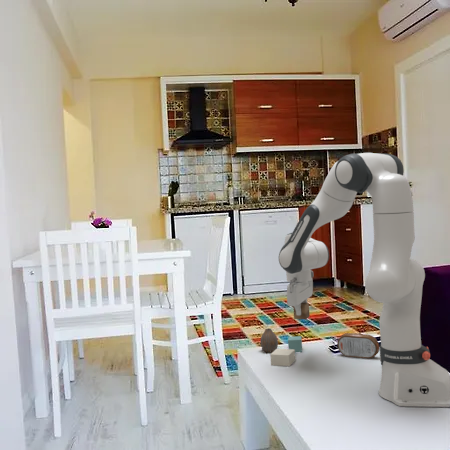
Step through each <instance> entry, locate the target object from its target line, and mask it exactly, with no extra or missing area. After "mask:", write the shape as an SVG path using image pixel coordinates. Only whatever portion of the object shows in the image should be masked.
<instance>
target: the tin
mask: <svg viewBox="0 0 450 450" xmlns="http://www.w3.org/2000/svg"><path fill="white" fill-rule="evenodd" d="M336 344H337V349H338V350H339V352H340V354H341V355H343V356H345V357H348V358H356V359H373V358H374V357H376V356H377V355H378V354H379V353H380V343H379V341H378V340H377V338H375V337H374V336H373V335H370V334H362V333H354V332H353V333H350V332H346V333H342V335H341V336H340V337H339V338H338V340H337V343H336Z"/></svg>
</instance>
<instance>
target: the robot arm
mask: <svg viewBox="0 0 450 450" xmlns="http://www.w3.org/2000/svg"><path fill="white" fill-rule="evenodd" d="M404 171H405V169H404V164H403V162H402V160H401V159H400V158H399V157H398V156H396V155H394V154H390V153H373V152H363V153H362V152H360V153H359V152H358V153H350V154H346V155H344V156H342V157H341V158H339V159H338V160H337V161H336V162H335V163H334V164H333V165H332V166H331V168H330V170H329V172H328V174H327V176H326V177H325V179H324V181H323V184H322V186H321V189H320V190H319V192H318V194H317V196H316V197H315V199H314V200H313V201H312V202H311V203H310V204H309V206H307V208H305V210H304V211H303V213H302V215H300V218H299V220H298V221H297V223H296V225H295V227H294V229H293V231H292V232H290V233H287V234H286V235H285V237H284V244H283V246H282V247H281V248H280V251H279V253H278V262H279V263H278V264H279V265H280V267H281V268H282V269H283V270H284V271H285V272H286V281H287V282H288V284H287V287H286V304H287V305H288V306H289V307H293V306H294V307H295V310H296V315H299V316H300V315H301V314H302V310H301V307H300V306H301V303H308V299H309V298H310V297H312V296H313V292H314V289H313V288H314V282H313V280H314V279H313V278H314V271H313V270H314V269H319V268H322V267H325V266H326V265H327V264H328V262H329V259H330V252H329V247H328V246H327V245H326V244H325V242H323V241H321V240H316V239H315V238H312V235H313V234H314V232H316V230H318V229H319V228H320V227H323V226H324V225H326V224H328V223H330V222H333V221H336V220H339V219H341V218H342V217H344V216H345V215H346V214H347V213H348V212H349V210H350V209H351V208H352V206H353V204H354V202H355V199H356V196H357V195H358V193H359V194H364V193H365V192H367V193H368V194H369V195H370V196H371V200H372V219H373V222H372V223H373V245H372V246H373V247H372V253H371V260H370V267H369V271H368V274H367V276H366V278H365V282H364V284H365V286H364V287H365V290H366V292H367V294H368V296H369V297H370V298H371V299H372V300H373V301H375V302H378V303H382V309H381V313H380V316H379V321H378V323H379V334H380V335H379V336H380V344H379V346H380V349H379V359H380V365H381V378H380V385H379V390H378V395H379V396H380V397H381V398H382V399H385V400H386V401H390V402H391V403H393V404H395V405H396V406H398V407H419V408H420V407H421V408H422V407H425V408H426V407H429V408H431V407H432V408H433V407H434V408H441V407H443V408H450V372H449V371H448V370H447V369H446V368H444V367H443V366H441V365H440V364H438V363H437V362H435V361H434V360H432V359H430V358H431V352H430V349H429V347H428V346H424V345H423V344H422V340H421V339H422V337H421V307H422V306H421V305H422V297H423V285H424V281H425V278H426V273H425V269H424V267H423V265H422V264H421V263H420V262H419V261H418V260H415V259H414V258H411V255H412V250H413V245H414V242H415V237H416V236H415V213H414V201H413V197H412V196H413V195H412V190H411V186H410V183H409V182H410V181H409V180H408V178H407V177H406V176H405V175H404V173H405V172H404Z"/></svg>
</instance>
